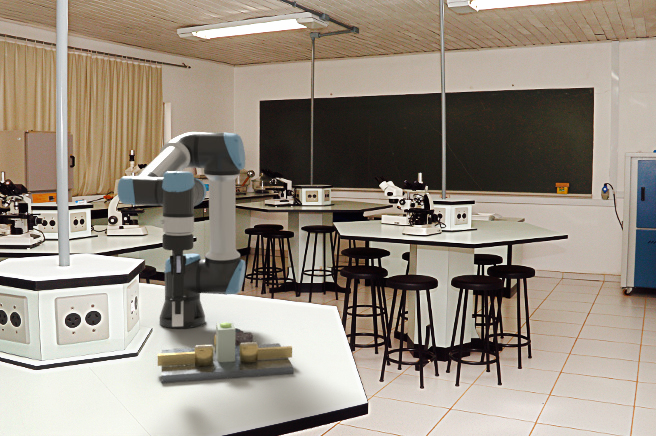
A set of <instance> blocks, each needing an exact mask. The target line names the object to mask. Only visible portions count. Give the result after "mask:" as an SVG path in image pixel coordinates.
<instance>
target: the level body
mask: <svg viewBox="0 0 656 436" xmlns="http://www.w3.org/2000/svg"><path fill="white" fill-rule="evenodd" d="M215 327H216V328H215V333H216V357H217V361H218V362H231V361H235V328H236V326H235V324H234V323H233V322H221V323H216V324H215Z"/></svg>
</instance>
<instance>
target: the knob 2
mask: <svg viewBox="0 0 656 436" xmlns="http://www.w3.org/2000/svg"><path fill="white" fill-rule="evenodd" d="M258 345H259V344H258V342H257V341H255V342H253V341H252V342H246V343H241V344H240V353H239V360H240V361H242V362H255V361H257V360H260V359H275V358H288V359H289V358H293V346H292V345H288V346H287V345H285V346H281V347H267V348H258Z"/></svg>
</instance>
